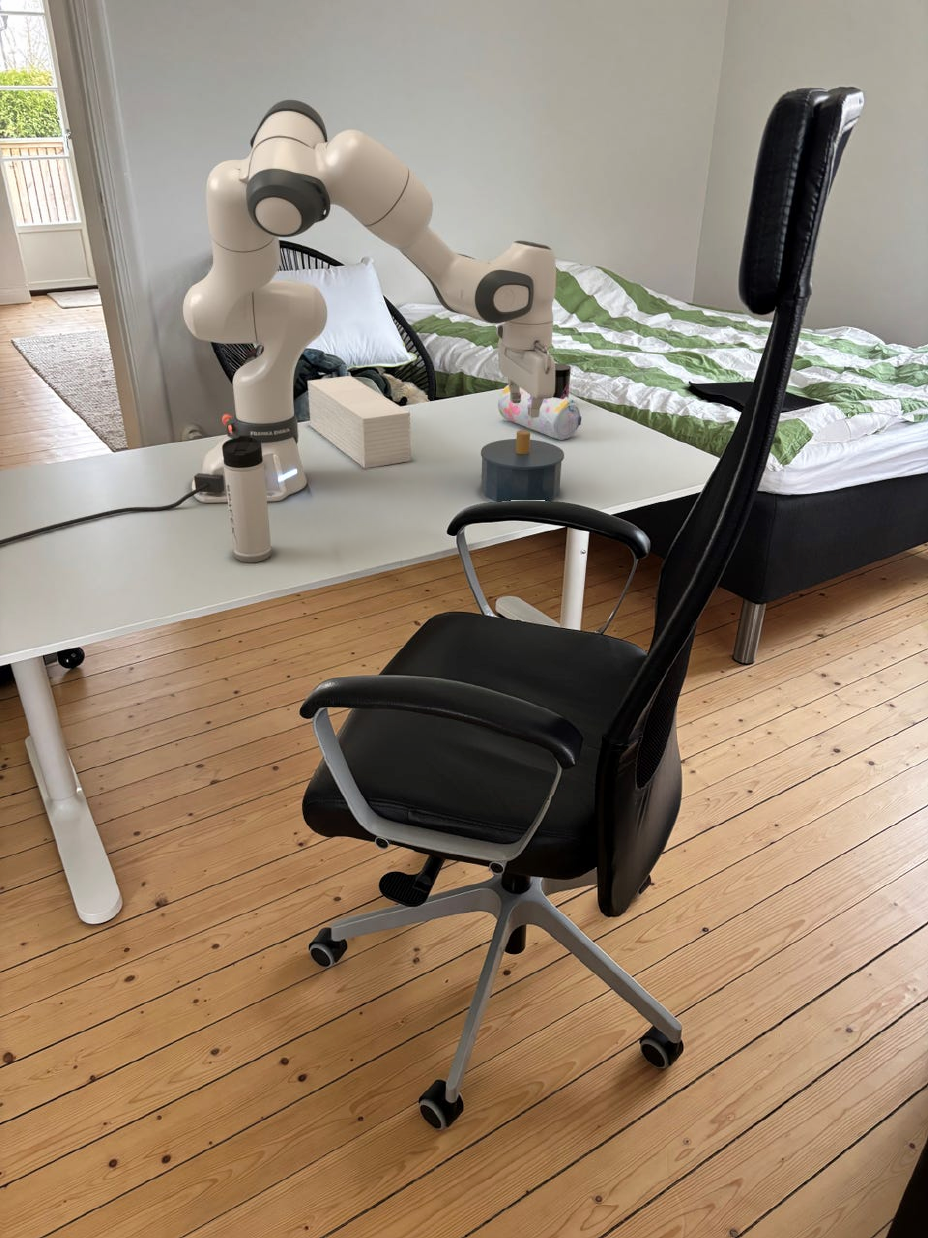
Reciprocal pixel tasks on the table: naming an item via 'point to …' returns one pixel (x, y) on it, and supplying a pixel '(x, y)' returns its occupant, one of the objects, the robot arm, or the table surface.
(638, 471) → the table surface
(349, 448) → the stack of papers
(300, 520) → the table surface
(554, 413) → the pencil case
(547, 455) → the tin lid
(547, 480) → the tin
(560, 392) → the supplement container
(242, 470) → the travel mug
